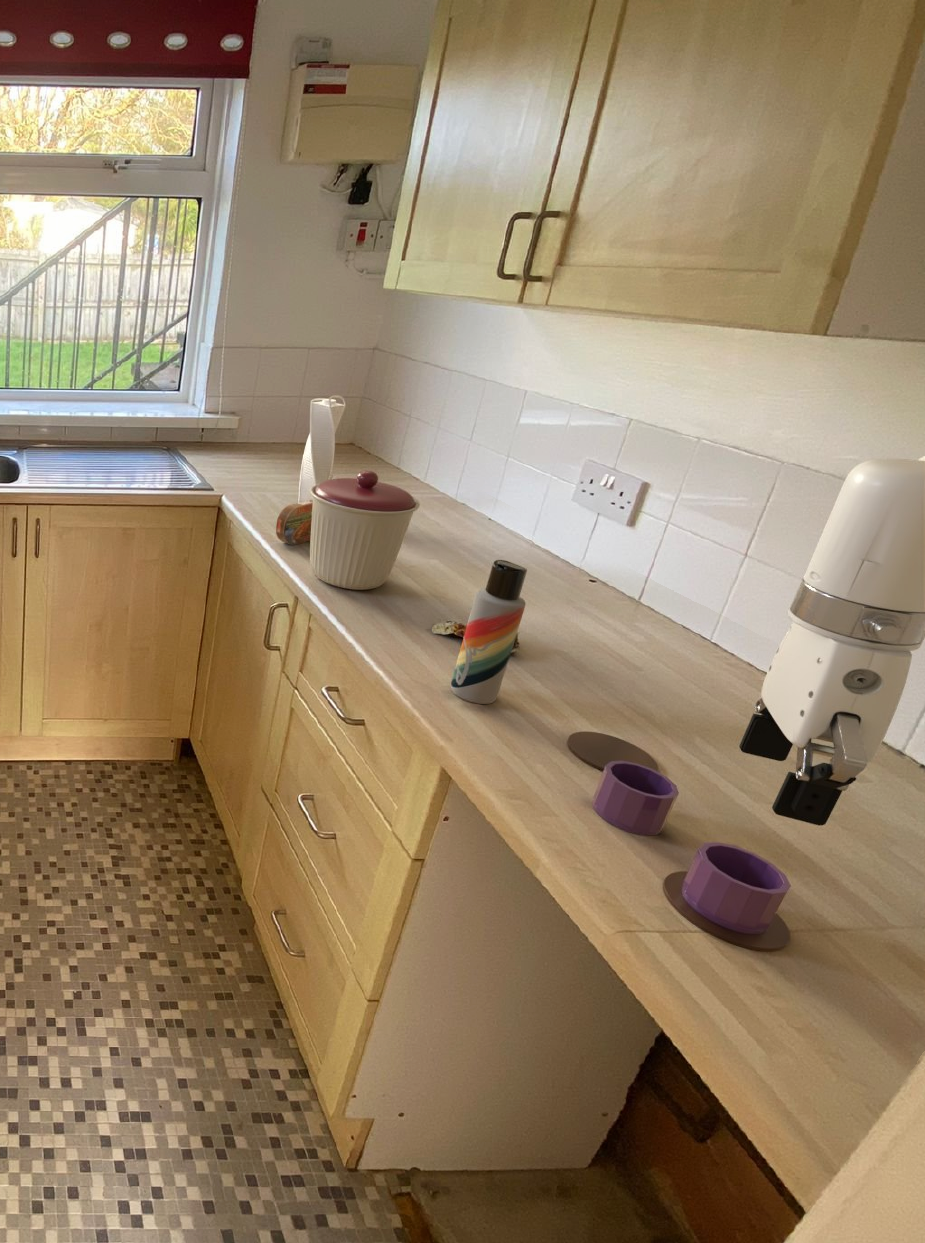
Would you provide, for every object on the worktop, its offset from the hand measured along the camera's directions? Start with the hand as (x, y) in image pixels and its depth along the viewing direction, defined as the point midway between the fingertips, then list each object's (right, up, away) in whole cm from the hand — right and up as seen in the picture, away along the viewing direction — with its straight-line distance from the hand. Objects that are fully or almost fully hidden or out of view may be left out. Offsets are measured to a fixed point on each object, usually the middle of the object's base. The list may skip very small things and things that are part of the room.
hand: (777, 785), depth 68 cm
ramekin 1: (0, -9, +16) cm, 18 cm away
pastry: (+6, +6, +54) cm, 54 cm away
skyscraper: (+4, +30, +112) cm, 116 cm away
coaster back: (+6, -5, +26) cm, 28 cm away
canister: (-4, +15, +75) cm, 77 cm away
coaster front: (-1, -13, +4) cm, 14 cm away
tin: (-5, +23, +94) cm, 97 cm away
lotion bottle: (-3, 0, +39) cm, 39 cm away
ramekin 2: (-1, -13, +4) cm, 14 cm away
